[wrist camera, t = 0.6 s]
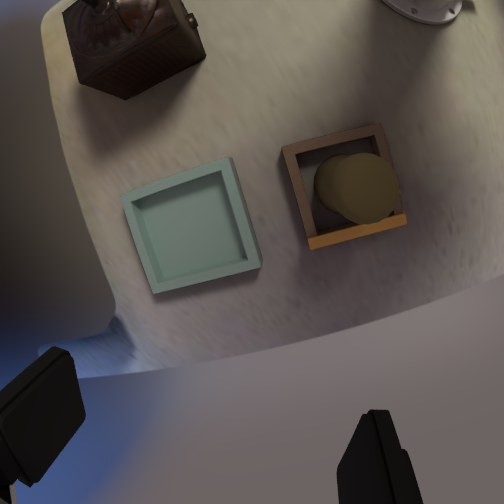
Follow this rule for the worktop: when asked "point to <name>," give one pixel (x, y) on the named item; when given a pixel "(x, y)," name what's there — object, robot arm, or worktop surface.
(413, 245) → the worktop surface
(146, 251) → the tray
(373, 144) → the holder frame
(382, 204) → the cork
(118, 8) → the brown coffee grinder
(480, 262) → the worktop surface
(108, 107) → the worktop surface
